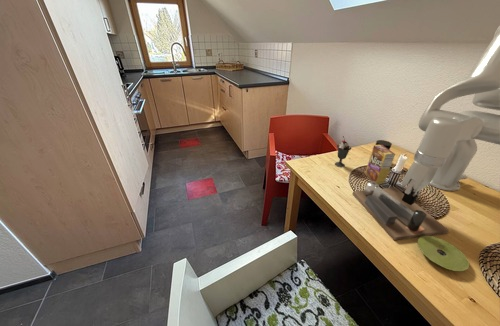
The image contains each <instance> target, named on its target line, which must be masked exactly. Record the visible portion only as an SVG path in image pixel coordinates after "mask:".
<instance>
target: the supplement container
mask: <svg viewBox="0 0 500 326" xmlns="http://www.w3.org/2000/svg"><path fill="white" fill-rule="evenodd" d="M374 145H384V146H385V147H386V148H387V149H389V150H390V151H391V147H392V142H390V141H387V140H382V139H378V140H376V142H375V144H374Z"/></svg>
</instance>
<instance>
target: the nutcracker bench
mask: <svg viewBox="0 0 500 326" xmlns="http://www.w3.org/2000/svg"><path fill="white" fill-rule="evenodd" d="M381 189H382V190H384V191H385V192H386V193H388V194H389V195H391V196H392V197H393V198H395V199H396V200H397V201H399V202H400V203H402V204H403V205H404V206H406V207H407V208H408V209H410V210H411V211H413V212H415V211H416V210H420V211H423V212H424V213H425V214H426V217H425V219H424V221H423V222H422V224H421V226H420V227H419V229H418V231H412V230H410V229H409V228H408V227H407V225H406V224H405V223H403V222H402V221H401V220H400V219H398V218H397V215H395V214H394V213H393V212H392V211H391V210H390V209H389V208H388V207H387V206H386V205H385V204H384V203H383V202H382V201H381V200H380V199H379V198H378V197H377V196H376V195H368V196H367V195H366V194H365V193H364V191H365V189H364V190H363V189H362V190H354V191H352V196H353V197H354V198H355V199H356V200H357V201H358V202H359V204H360V205H361V206H362V207H363V209H364V210H366V212H368V213H369V214H370V216H371V217H372V218H373V220H375V221H376V222H377V223H378V225H379V226H380V227H381V228H382V229H383V230H384V231H385V232H386V234H387V235H388V236H389V237H390V238H391V239H392V240H393V241H401V240H408V239H409V240H411V239H416V238H417V239H419V238H420V237H423V236H432V237H435V236H439V235H447V234H448V233H449V232H450V229H448V228H447V227H446V226H445V225H444V224H442V223H441V222H440V221H439V220H437V219H436V218H434V217H433V216H432V215H431V214H429V213H428V212H427V211H426V210H424V208H422V207H421V206H419V204H417V203H416V201H415V202H414V204H412V205H409V204H407V203H406V202H404V201H402V198H403V196H404V194H405V193H403V192H402V191H401V190H399V189H398V188H397V187H396V186H395V187H385V188H381Z"/></svg>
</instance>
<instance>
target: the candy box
mask: <svg viewBox="0 0 500 326" xmlns="http://www.w3.org/2000/svg"><path fill="white" fill-rule="evenodd" d="M395 156H396V153H394V151H391V149H390V150H389V149H387V148H386V147H385V146H384V145H375V144H374V145H373V147H372V151H371V153H370V156H369V161H368V163H367V166H366V169H365V172H364V174H365V175H366V176H367V177H368V178H369V179H370V181H372V182H376V183H377V184H378V185H382V184H381V183H385V181H386V178H387V176H388V174H389V172H390V169H391V168H392V167H391V166H392V165H393V161H394V158H395Z"/></svg>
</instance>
